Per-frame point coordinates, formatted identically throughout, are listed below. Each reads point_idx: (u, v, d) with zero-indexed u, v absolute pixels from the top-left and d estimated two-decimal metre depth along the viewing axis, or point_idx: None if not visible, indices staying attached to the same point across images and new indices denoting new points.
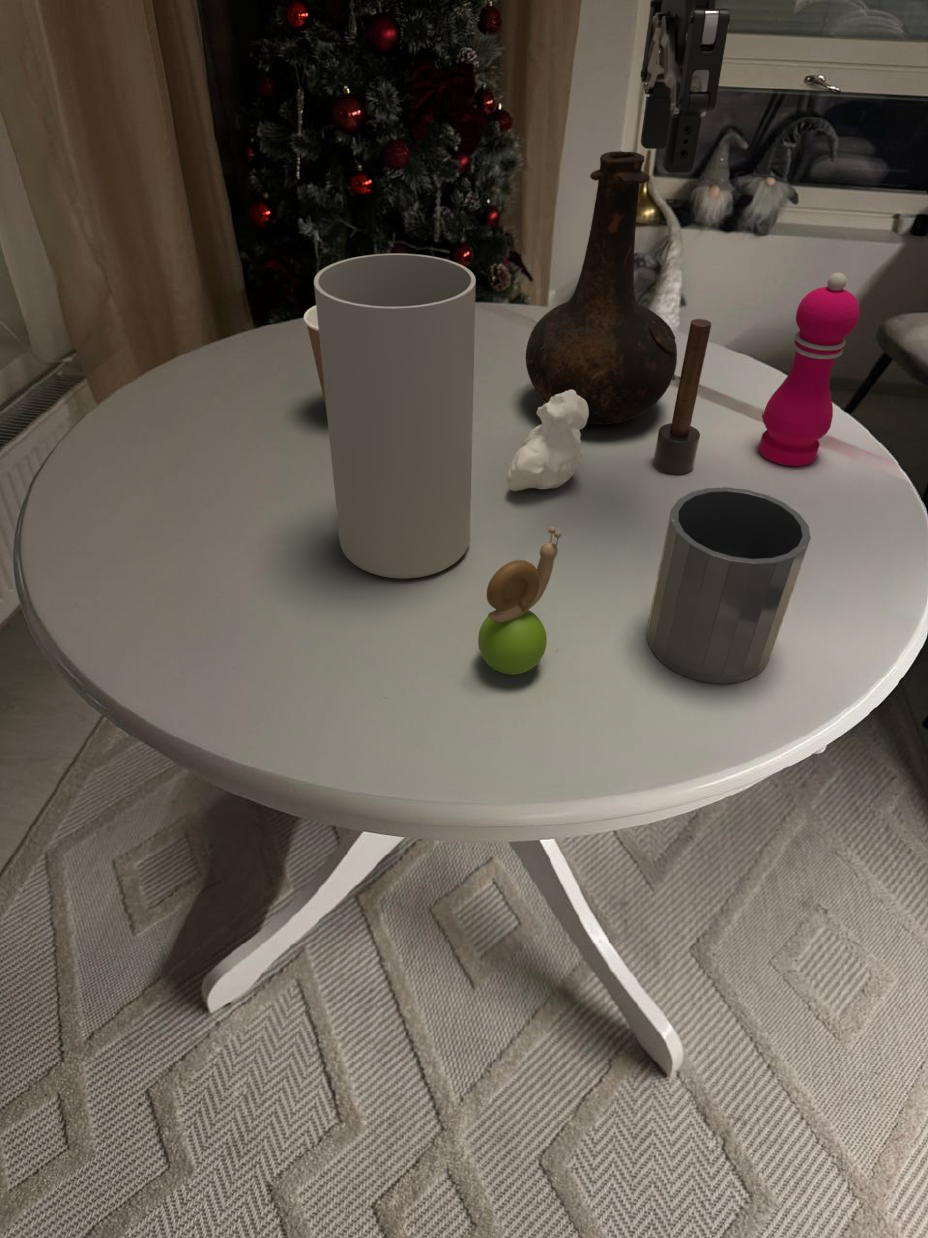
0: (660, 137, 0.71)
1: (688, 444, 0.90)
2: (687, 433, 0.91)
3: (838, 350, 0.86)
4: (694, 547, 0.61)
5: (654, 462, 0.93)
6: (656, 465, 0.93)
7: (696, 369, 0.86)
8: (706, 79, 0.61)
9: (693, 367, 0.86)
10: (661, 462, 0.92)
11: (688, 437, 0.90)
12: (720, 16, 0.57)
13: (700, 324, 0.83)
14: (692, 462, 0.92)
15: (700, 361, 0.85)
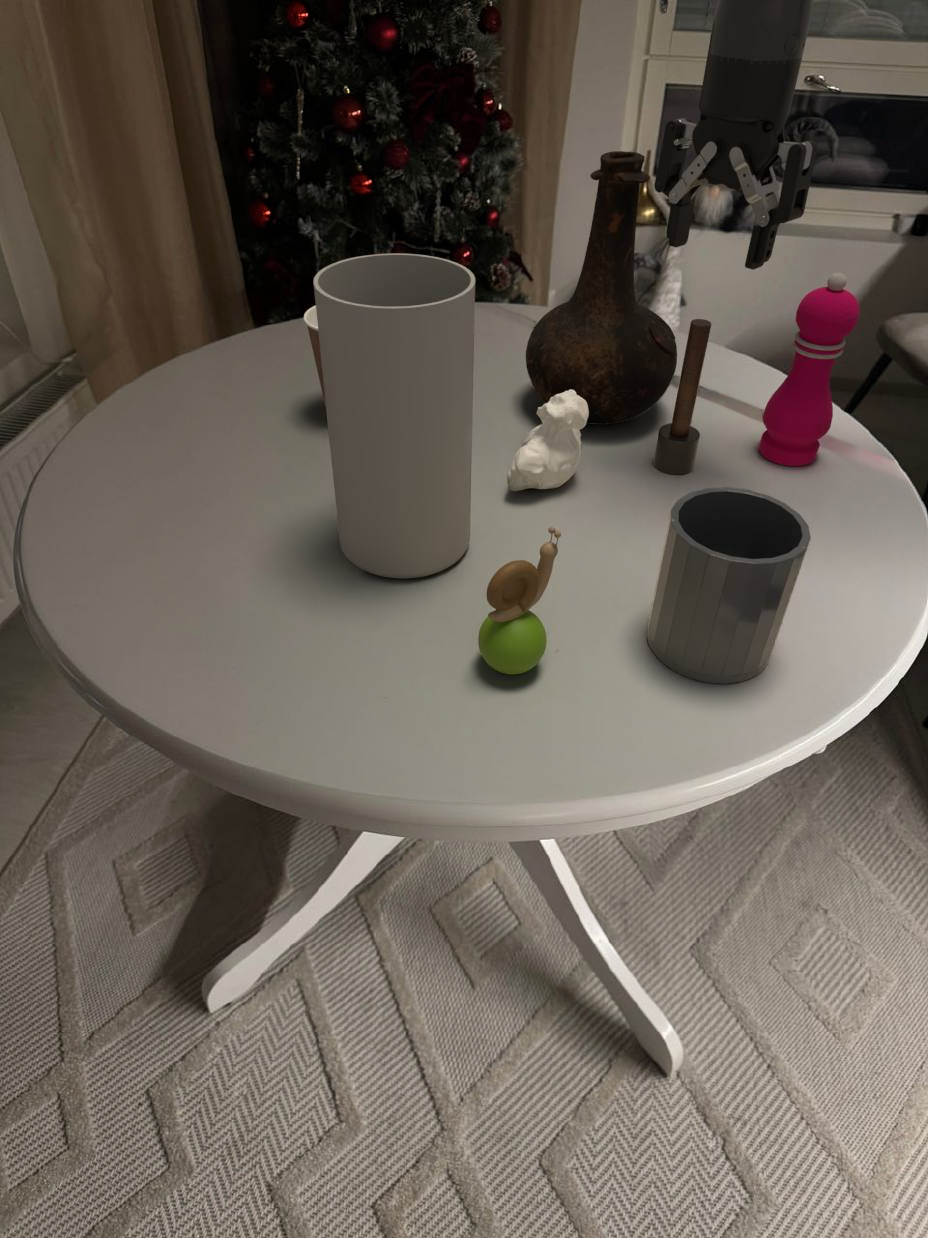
0: (684, 235, 0.81)
1: (688, 444, 0.90)
2: (687, 433, 0.91)
3: (838, 350, 0.86)
4: (694, 547, 0.61)
5: (654, 462, 0.93)
6: (656, 465, 0.93)
7: (696, 369, 0.86)
8: (776, 192, 0.74)
9: (693, 367, 0.86)
10: (661, 462, 0.92)
11: (688, 437, 0.90)
12: (813, 148, 0.69)
13: (700, 324, 0.83)
14: (692, 462, 0.92)
15: (700, 361, 0.85)
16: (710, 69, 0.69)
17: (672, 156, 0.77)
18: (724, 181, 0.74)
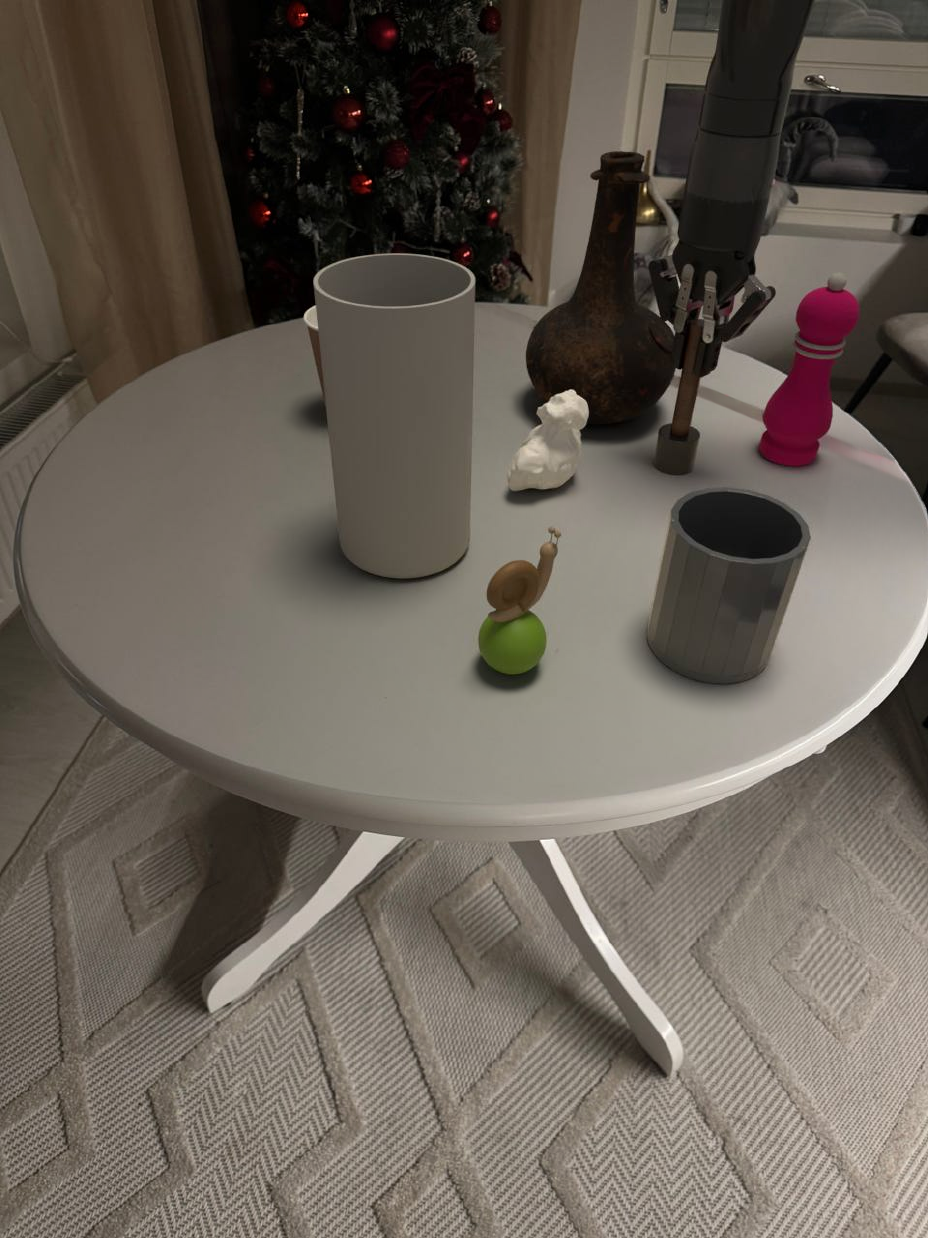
0: None
1: (688, 444, 0.90)
2: (687, 433, 0.91)
3: (838, 350, 0.86)
4: (694, 547, 0.61)
5: (654, 462, 0.93)
6: (656, 465, 0.93)
7: None
8: (728, 315, 0.82)
9: (693, 367, 0.86)
10: (661, 462, 0.92)
11: (689, 437, 0.90)
12: (771, 297, 0.78)
13: (700, 324, 0.83)
14: (692, 462, 0.92)
15: None
16: (686, 204, 0.76)
17: (664, 287, 0.84)
18: (701, 298, 0.81)
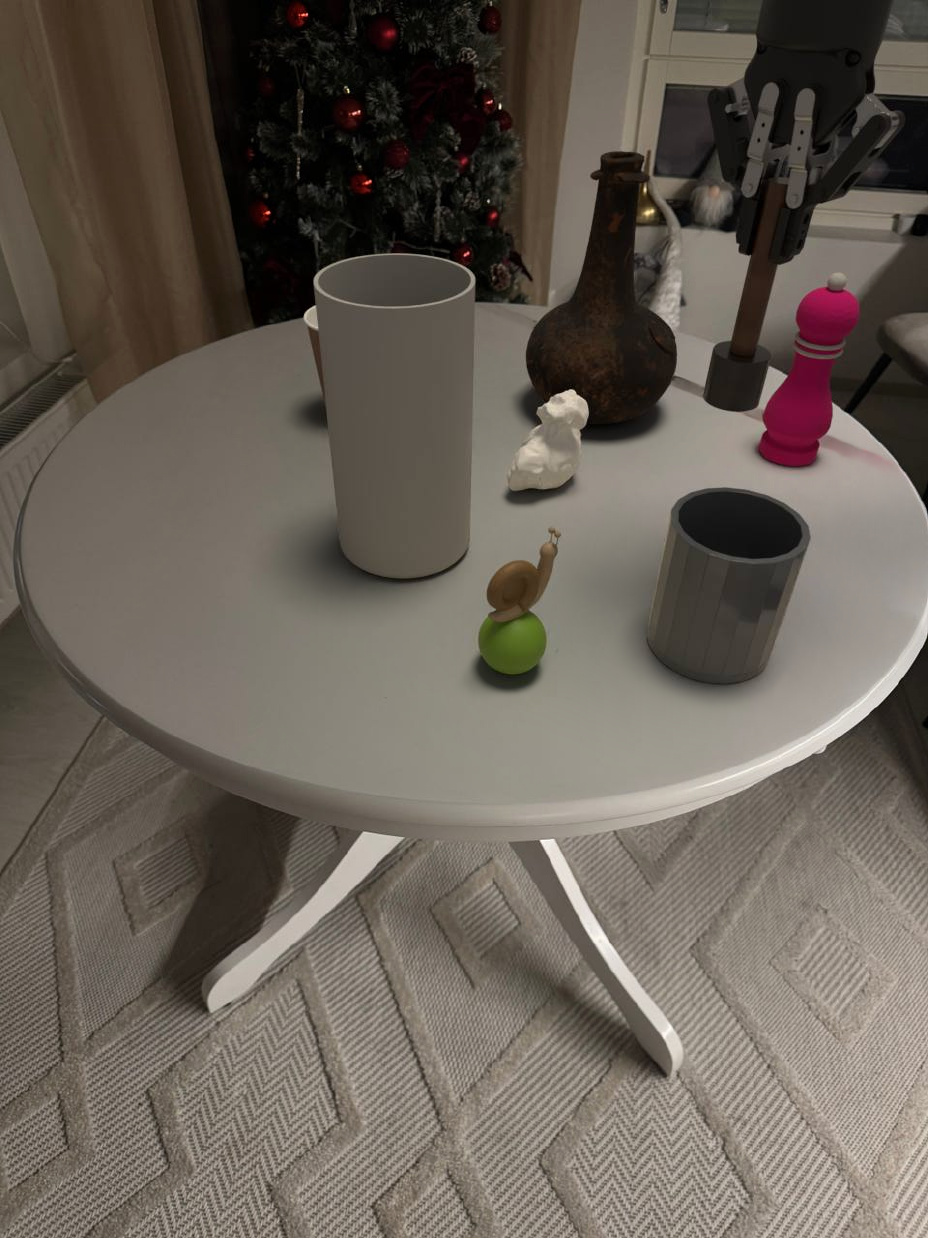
0: None
1: (756, 367, 0.64)
2: (754, 352, 0.64)
3: (838, 350, 0.86)
4: (694, 547, 0.61)
5: (705, 395, 0.67)
6: (707, 399, 0.67)
7: None
8: (825, 167, 0.56)
9: (768, 250, 0.59)
10: (715, 394, 0.66)
11: (756, 358, 0.64)
12: (898, 126, 0.51)
13: (782, 182, 0.57)
14: (759, 395, 0.66)
15: None
16: None
17: (731, 129, 0.58)
18: (787, 138, 0.55)
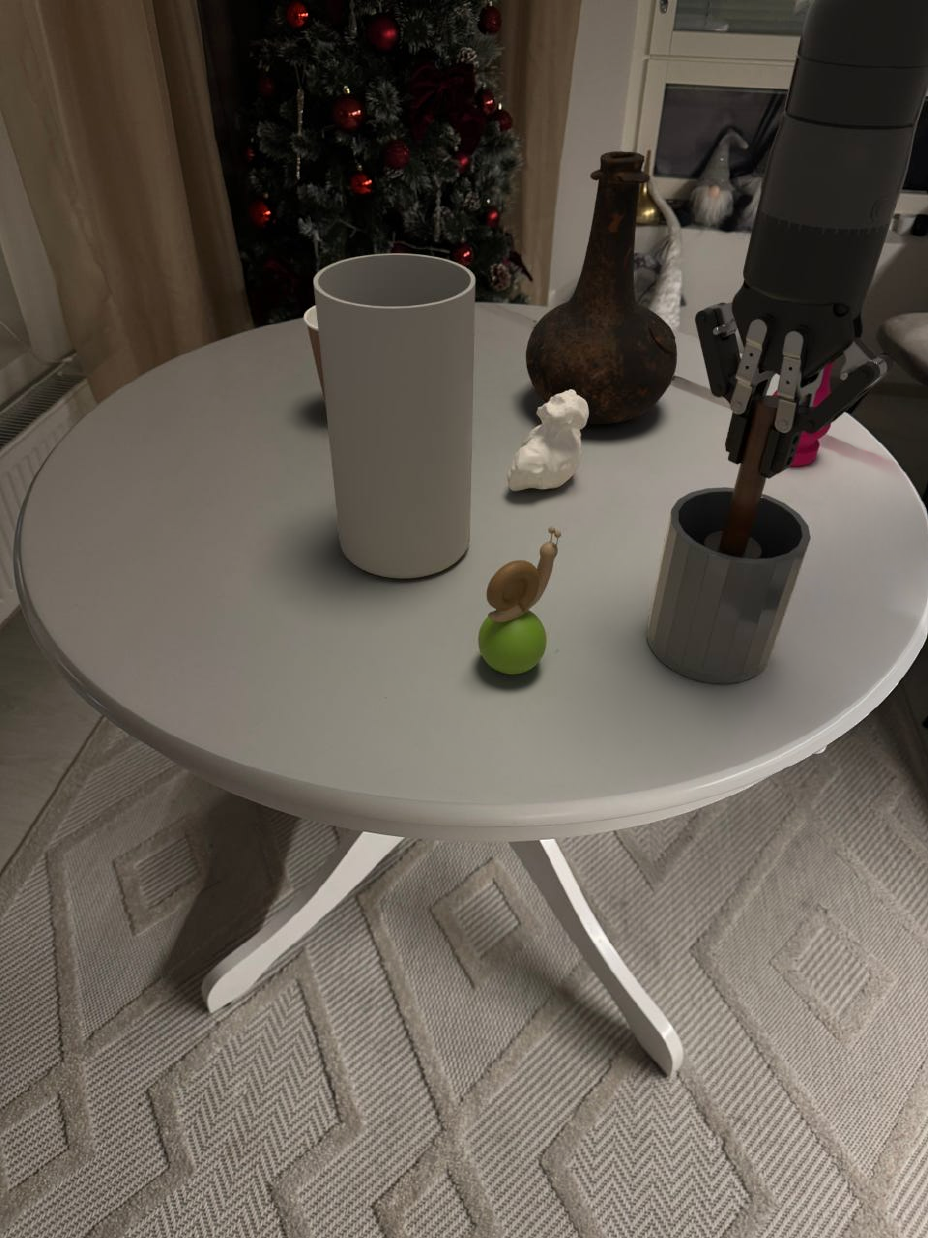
0: None
1: None
2: (744, 549, 0.64)
3: None
4: (694, 547, 0.61)
5: None
6: None
7: None
8: (814, 393, 0.56)
9: (758, 463, 0.59)
10: None
11: (747, 556, 0.64)
12: (887, 372, 0.51)
13: (771, 404, 0.57)
14: None
15: None
16: (761, 232, 0.49)
17: (719, 349, 0.57)
18: (775, 368, 0.55)
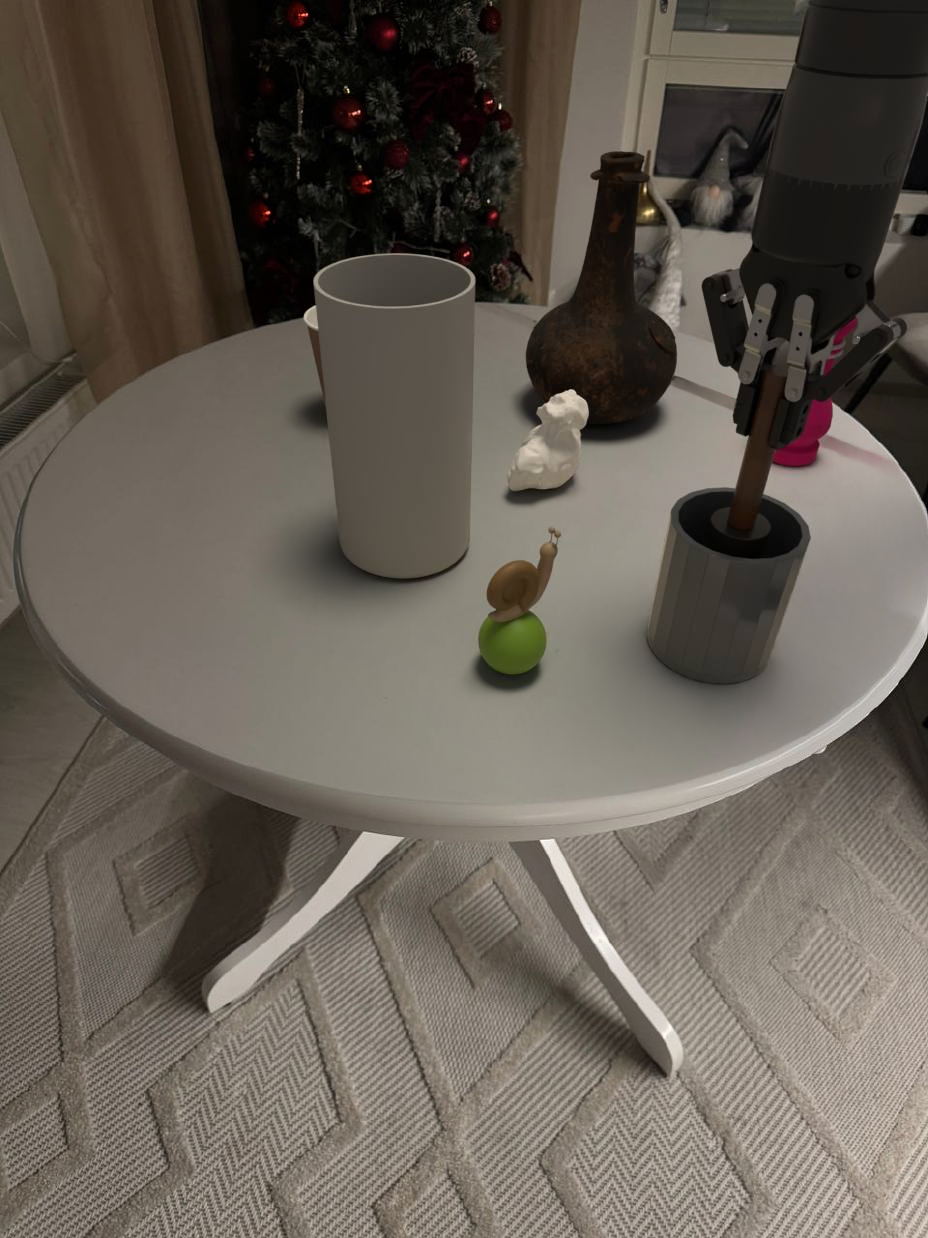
0: None
1: (755, 542, 0.62)
2: (753, 525, 0.63)
3: (838, 350, 0.86)
4: (694, 547, 0.61)
5: None
6: None
7: None
8: (825, 360, 0.54)
9: (767, 435, 0.58)
10: None
11: (755, 532, 0.62)
12: (900, 335, 0.50)
13: (780, 373, 0.55)
14: None
15: None
16: (771, 191, 0.48)
17: (726, 317, 0.56)
18: (785, 335, 0.53)
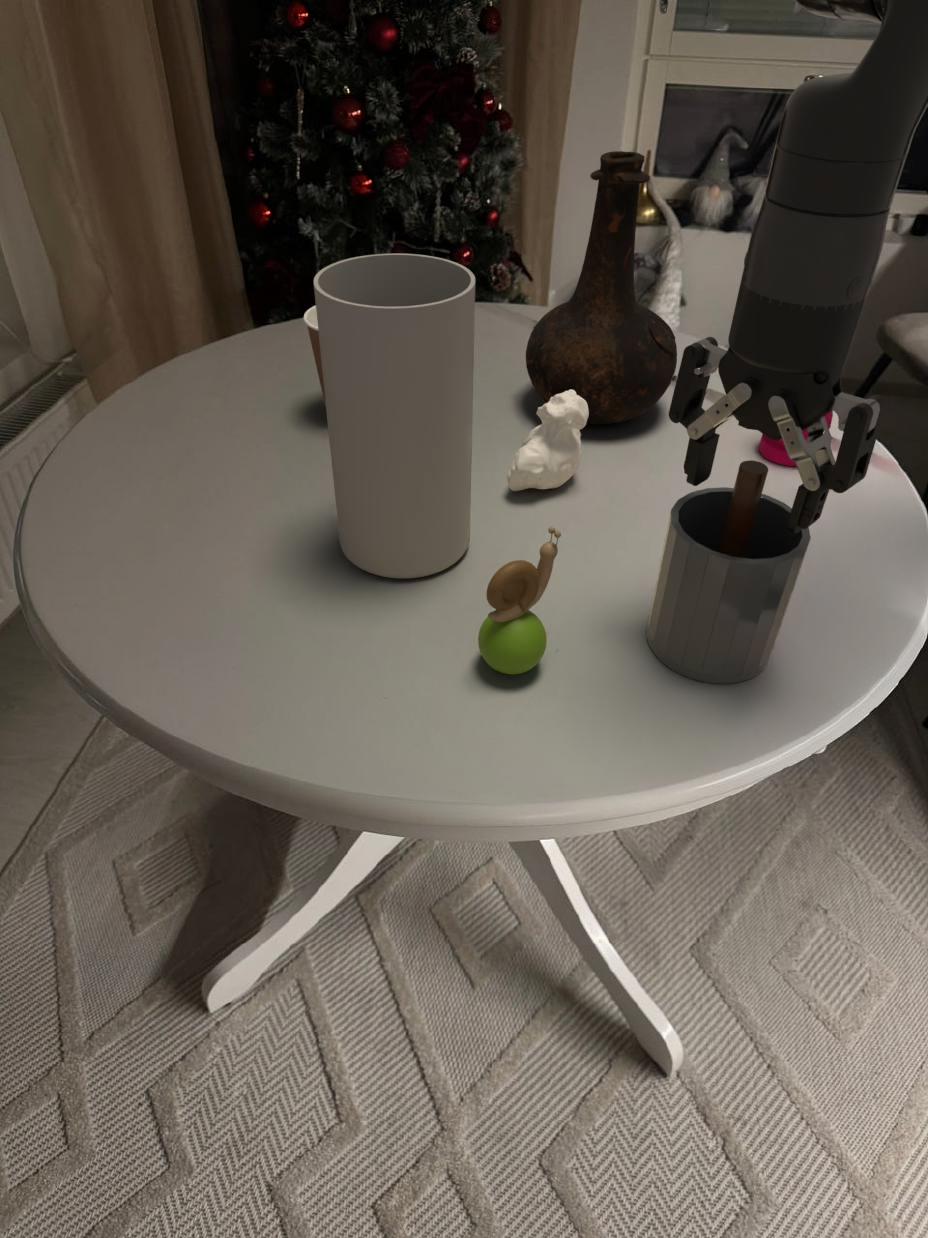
0: (706, 471, 0.64)
1: None
2: None
3: None
4: (694, 547, 0.61)
5: None
6: None
7: (745, 527, 0.63)
8: (829, 446, 0.57)
9: (741, 524, 0.62)
10: None
11: None
12: (881, 407, 0.52)
13: (753, 470, 0.60)
14: None
15: (752, 517, 0.62)
16: (745, 305, 0.52)
17: (692, 385, 0.60)
18: (760, 428, 0.57)
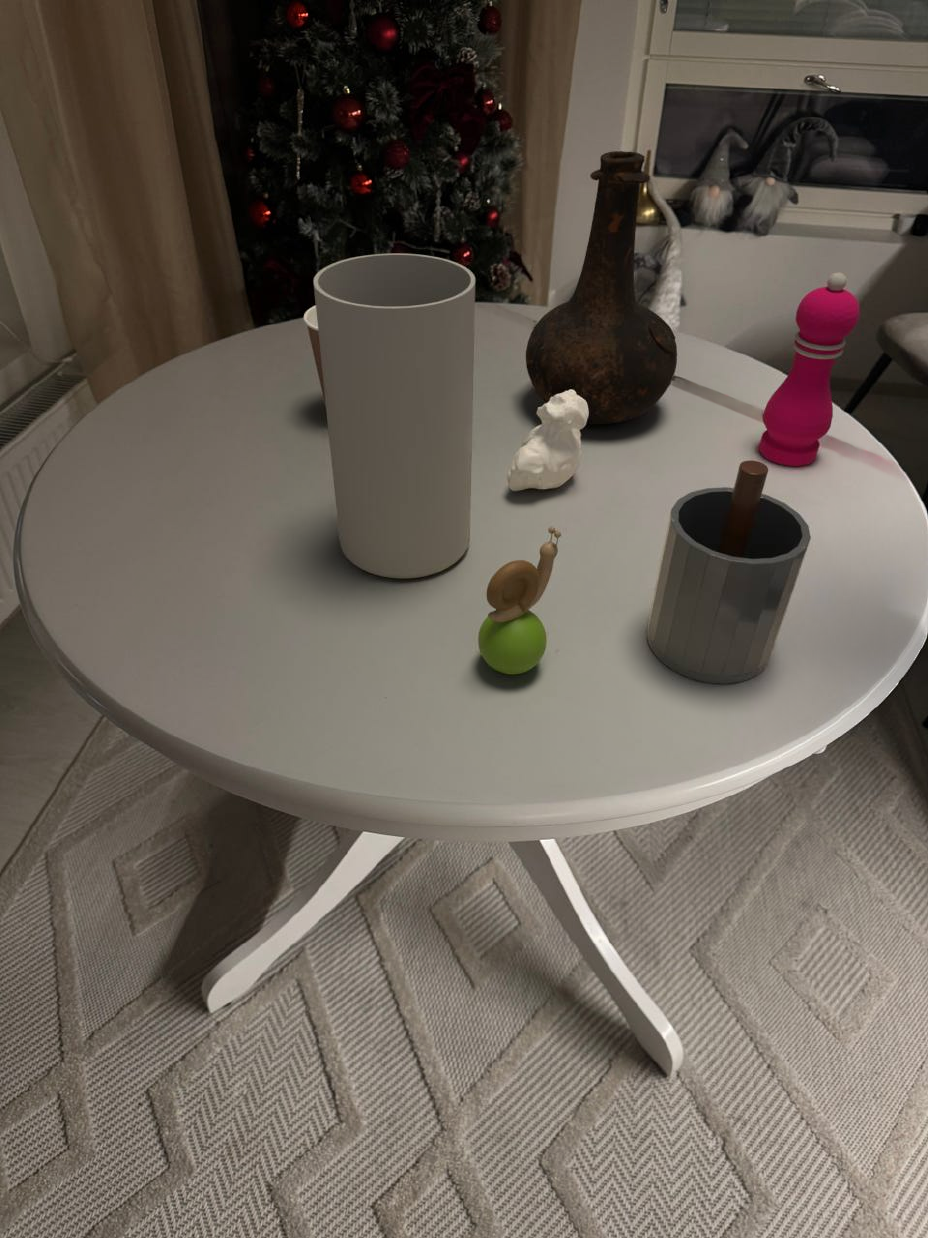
0: None
1: None
2: None
3: (838, 350, 0.86)
4: (694, 547, 0.61)
5: None
6: None
7: (745, 527, 0.63)
8: None
9: (741, 524, 0.62)
10: None
11: None
12: None
13: (753, 470, 0.60)
14: None
15: (752, 517, 0.62)
16: None
17: None
18: None
